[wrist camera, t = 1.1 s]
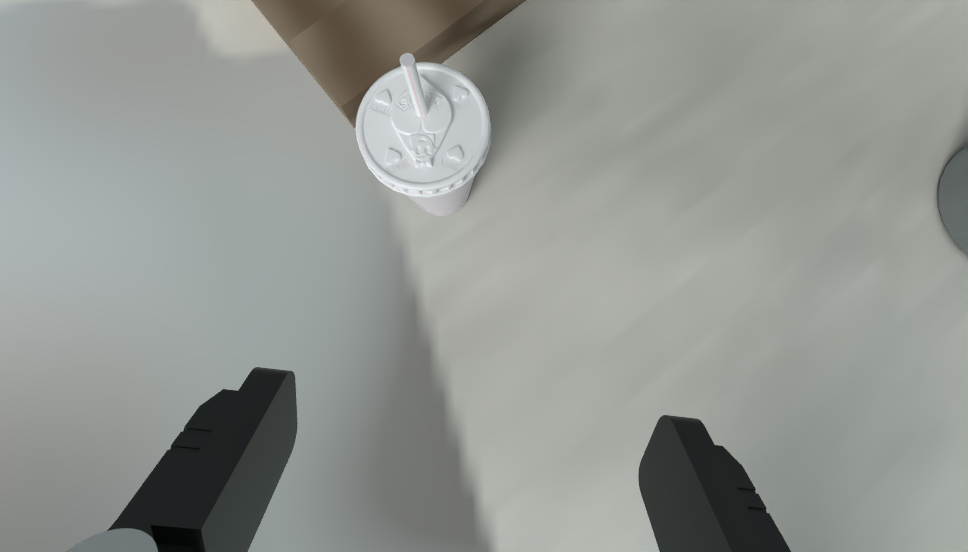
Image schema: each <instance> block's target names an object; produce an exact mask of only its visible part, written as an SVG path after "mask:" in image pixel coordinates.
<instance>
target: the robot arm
mask: <svg viewBox="0 0 968 552" xmlns="http://www.w3.org/2000/svg"><path fill="white" fill-rule="evenodd" d="M938 199H939V210H940V213H941V217H942V220H943V223H944V225H945V227H946V229H947V231H948V233H949V235H950V237H951V238H952V239H953V241H954V242H955V243H956V244H957V246H958V247H959V248H960V249H961V250H962V251H963V252H964V253H965V254H967V255H968V146H966V147H964V148H963V149H962V150H961V151H959V152H958V153H957V154H956V155H955V156H954V157H953V158H952V159H951V161H950V162H949V163H948V165H947V166H946V168H945V170H944V172H943V175H942V177H941V180H940V186H939V191H938ZM296 433H297V406H296V388H295V375H294V373H293V372H292V371H286V370H277V369H268V368H260V367H256V368H254V369H253V370H252V371H251V372H250V374H249V375H248V377H247V378H246V380H245V381H244V383H243V384H242V386H241V388H240V389H239V391H234V390H226V389H223V390H222V391H221V392H219V393H218V394H216V395H215V396H213V397H212V398H210V399H209V400H208V401H206V402H205V403H203V404H202V405H201V406H200V407H199V408H198V409H197V411H196V412H195V414H194V415H193V416H192V417H191V419H190V420H189V422H188V423H187V424H186V426H185V427H184V431H183V432H181V433H180V434H179V435H178V437H177V438H176V439H175V441H174V442H173V444H172V445H171V449H170V450H167V452H166V453H165V454H164V456H163V457H162V458H161V460H160V462H159V463H158V464H157V465H156V467H155V468H154V469H153V471H152V472H151V474H150V475H149V476H148V478H147V479H146V480H145V482H144V483H143V484H142V486H141V487H140V489H139V490H138V491H137V493H136V494H135V495H134V497H133V498H132V500H131V501H130V502H129V504H128V505H127V506H126V508H125V509H124V511H123V512H122V513H121V515H120V516H119V517H118V519H117V520H116V521H115V522H114V524H113V525H112V526H111V527H110V528H109V529H108V530H107V531H105V532H102V533H99V534H96V535H94V536H92V537H90V538H87V539H85V540H84V541H82V542H80V543H78V544H77V545H75V546H74V547H72V548H71V549H69V550H68V551H66V552H248V549H249V547H250V545H251V543H252V540H253V538H254V536H255V533H256V531H257V529H258V527H259V525H260V522H261V520H262V518H263V515H264V513H265V511H266V509H267V506H268V504H269V502H270V500H271V498H272V495H273V493H274V491H275V489H276V486H277V484H278V482H279V479H280V477H281V475H282V473H283V471H284V468H285V466H286V464H287V462H288V459H289V457H290V455H291V452H292V449H293V446H294V443H295V438H296ZM639 487H640V491H641V495H642V498H643V501H644V504H645V507H646V510H647V513H648V516H649V519H650V522H651V526H652V529H653V532H654V535H655V538H656V541H657V544H658V547H659V550H660V552H791V551H790V549H789V547H788V546H787V544H786V542H785V540H784V538H783V537H782V535H781V533H780V531H779V530H778V528H777V526H776V524H775V523H774V521H773V519H772V517H771V516H770V514H769V513H767V512H766V507H765V505H764V503H763V501H762V500H761V498H760V496H759V494H756V493H755V490H756V489H755V487H754V486H753V484H752V482H751V480H750V479H749V477H748V475H747V473H746V472H745V470H744V468H743V466H742V465H741V464H740V463H739V462H738V461H737V460H736V459H735V458H734V457H733V456H732V455H731V454H730V453H729V452H728V451H727V450H726V449H725V448H724V447H723V446H718V445H714V443H713V441H712V439H711V437H710V435H709V434H708V432H707V430H706V428H705V426H704V424H703V423H702V422H701V421H700V420H699V419H694V418H686V417H677V416H668V415H663V416H662V417H660V419H659V420H658V422H657V425H656V427H655V429H654V432H653V434H652V436H651V439H650V441H649V443H648V446H647V448H646V450H645V453H644V455H643V457H642V460H641V463H640V467H639Z"/></svg>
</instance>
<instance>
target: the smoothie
mask: <svg viewBox="0 0 968 552" xmlns="http://www.w3.org/2000/svg"><path fill="white" fill-rule="evenodd" d="M400 63H401V66H400V67H398V68H395V69H393V70H391V71H389V72H388V73H386V74H385V75H383V76H382V77H381V78H379V79H378V80H377V81H376V82H375V83H374V84H373V85H372V86H371V87H370V89H369V90H368V91H367V93H366V94H365V96H364V98H363V100H362V102H361V104H360V107H359V109H358V113H357V118H356V137H357V142H358V145H359V148H360V151H361V153H362V155H363V157H364V159H365V162H366V164H367V166H368V168H369V169H370V170H371V171H372V173H373V174H374V175H375V176H376V177H377V178H378V180H379V181H381V182H382V183H384V184H385V185H387V186H388V187H390V188H391V189H392V190H394V191H397V192H400V193H403V194H406V195H407V196H408V197H410V198H411V199H412V200H413V201H414V202H416V203H417V204H418V205H419V206H420V207H422V208H423V209H424V210H425V211H427V212H428V213H431V214H433V215H438V216H445V215H450V214H453V213H455V212H457V211H458V210H459V209H461V208H462V207H463V206H464V204H465V203H466V201H467V199H468V197H469V193H470V190H471V187H472V183H473V180H474V177H475V174H476V173H477V172H478V170H479V169H480V167H481V166H482V165H483V163H484V162H485V159H486V156H487V154H488V151H489V148H490V144H491V131H492V128H491V123H490V115H489V110H488V107H487V104H486V102H485V99H484V97H483V95H482V94H481V92H480V91H479V89H478V88H477V87H476V85H475V84H474V83H473V82H472V81H471V80H470V79H469V78H468V77H466V76H465V75H464V74H462V73H460V72H459V71H457V70H455V69H453V68H451V67H448V66H445V65H442V64H437V63H429V62H419V63H415V59H414V57H413V55H412V54H410V53H405V54H403V55H402V56H401V57H400Z"/></svg>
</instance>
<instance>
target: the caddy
mask: <svg viewBox="0 0 968 552" xmlns="http://www.w3.org/2000/svg"><path fill="white" fill-rule="evenodd" d="M524 1H525V0H252V2H253V3H254V4H255V5H256V7H257V8H258V9H259V10H260V11H261V13H262V14H263V15H264V16H265V18H266V19H267V20H268V21H269V23H270V24H271V25H272V26H273V28H274V29H275V30H276V31H277V33H278V34H279V35H280V36H281V38H282V39H283V40H284V41H285V43H286V44H287V45H288V46H289V48H290V49H291V50H292V51H293V52H294V54H295V55H296V56H297V57H298V59H299V60H300V61H301V62H302V64H303V65H304V66H305V67H306V68H307V70H308V71H309V72H310V74H311V75H312V76H313V77H314V78H315V79H316V81H317V82H318V83H319V85H320V86H321V87H322V88H323V90H324V91H325V92H326V93H327V95H328V96H329V97H330V98H331V100H332V101H333V102H334V103H335V105H336V106H337V107H338V108H339V109H340V111H341V112H342V113H343V115H344V116H345V117H346V118H347V119H348V121H349V122H350V123H351V125H352V126H353V127H354V128H355V127H356V118H357V113H358V109H359V107H360V104H361V102H362V100H363V98H364V96H365V94H366V93H367V91H368V90H369V89H370V87H371V86H372V85H373V84H374V83H375V82H376V81H377V80H378V79H379V78H381V77H382V76H383V75H385V74H386V73H388V72H389V71H391V70H393V69H395V68H398V67H400V66H401V63H400V57H401V56H402V55H403V54H405V53H410V54H412V55H413V57H414V59H415V63H419V62H429V63H437V64H441V63H442V62H443V61H445V60H446V59H448V58H449V57H450V56H452V55H453V54H454V53H456V52H457V51H458V50H460V49H461V48H462V47H464V46H465V45H466V44H468V43H469V42H470V41H472V40H473V39H474V38H476V37H477V36H478V35H480V34H481V33H482V32H484V31H485V30H486V29H488V28H489V27H490V26H492V25H493V24H494V23H496V22H497V21H498V20H500V19H501V18H502V17H504V16H505V15H506V14H508V13H509V12H510V11H512V10H513V9H515V8H516V7H517V6H519V5H520V4H521V3H523V2H524Z"/></svg>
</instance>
